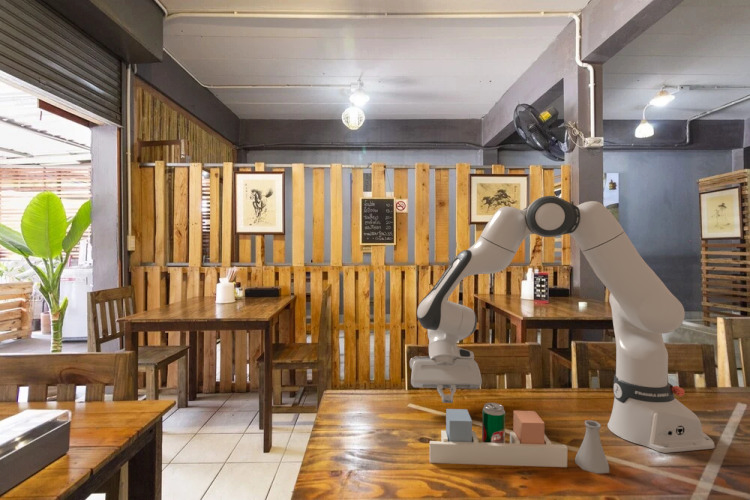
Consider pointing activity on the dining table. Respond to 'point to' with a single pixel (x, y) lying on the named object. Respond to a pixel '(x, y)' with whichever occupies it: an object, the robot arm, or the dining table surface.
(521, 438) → the salmon pink brick
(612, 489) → the dining table surface
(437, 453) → the tray
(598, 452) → the flask
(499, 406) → the soda can
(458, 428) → the slate blue upright block
